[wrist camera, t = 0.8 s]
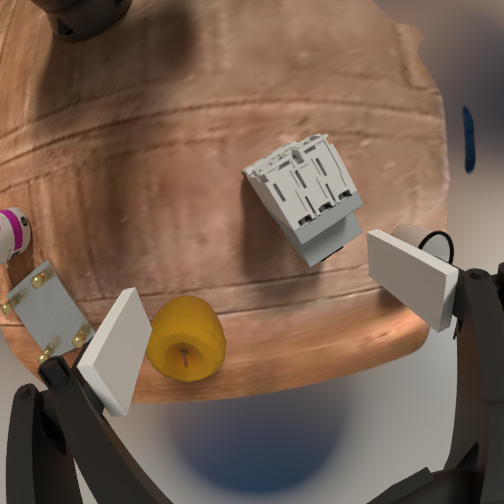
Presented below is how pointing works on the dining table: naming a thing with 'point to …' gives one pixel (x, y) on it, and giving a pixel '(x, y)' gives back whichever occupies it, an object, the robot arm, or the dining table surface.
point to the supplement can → (13, 233)
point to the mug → (426, 240)
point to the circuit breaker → (308, 196)
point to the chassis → (50, 312)
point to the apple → (186, 340)
